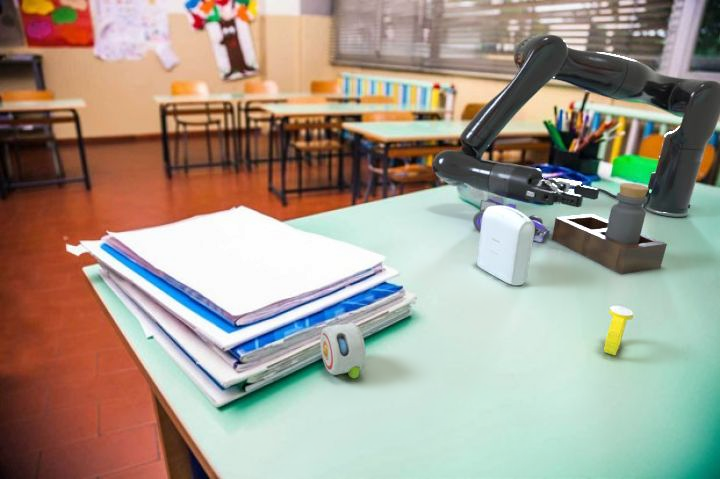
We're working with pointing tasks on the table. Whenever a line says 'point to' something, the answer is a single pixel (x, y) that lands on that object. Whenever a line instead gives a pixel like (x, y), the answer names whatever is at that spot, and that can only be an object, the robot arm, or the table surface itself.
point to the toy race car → (499, 201)
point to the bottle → (627, 214)
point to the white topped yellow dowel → (616, 328)
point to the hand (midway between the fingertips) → (590, 198)
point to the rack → (607, 244)
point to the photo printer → (505, 244)
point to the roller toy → (343, 349)
